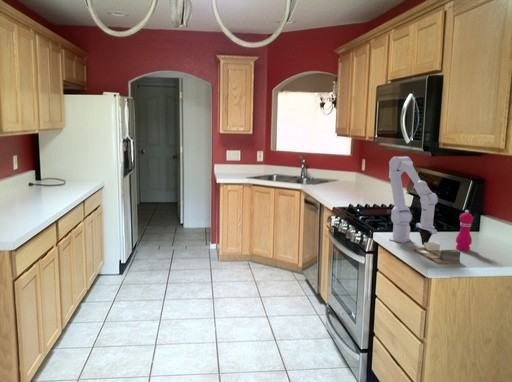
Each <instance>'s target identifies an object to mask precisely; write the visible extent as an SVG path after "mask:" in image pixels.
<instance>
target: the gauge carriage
mask: <svg viewBox="0 0 512 382" xmlns="http://www.w3.org/2000/svg"><path fill="white" fill-rule="evenodd" d="M423 247H424V248H419V250H424V249H426V250H428V251H434V250H440V251H441V244H440V243H437V242H435V241H430V242H427V243H424V245H423Z"/></svg>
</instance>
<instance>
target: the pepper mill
mask: <svg viewBox="0 0 512 382" xmlns="http://www.w3.org/2000/svg"><path fill="white" fill-rule="evenodd" d="M469 212H470V210H468V209H466V210H465V211H464V212H463V213H461V214H460V215H459V221H460V224H459V225H460V229H459V233H457V235H456V237H455V243H456V245H455V250H458V251H460V252H461V251H462V252H469V251H470V249H471V246H470V245H471V244H472V242H473V240H472V235H471V232H470V229H471V227H472V222H473V220H474V217H473V215H472V214H471V213H469Z"/></svg>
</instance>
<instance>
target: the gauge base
mask: <svg viewBox="0 0 512 382" xmlns="http://www.w3.org/2000/svg"><path fill="white" fill-rule="evenodd" d="M419 248H424V246H420V247H418V246H417V247H411V250H412V251H413V250H414V251H413V252H416V253H417V254H419V255H421V256H422V255H423V257H425V259H428V260H430V261H432V262H433V263H436V264H457V263H458V264H459V263H461V250H457V249H440V250H434V251H428V250H426V249H424V250H419Z"/></svg>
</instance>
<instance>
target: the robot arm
mask: <svg viewBox="0 0 512 382" xmlns="http://www.w3.org/2000/svg"><path fill="white" fill-rule="evenodd" d="M388 165H389V178H390V186H391V187H390V188H391V193H392V198H393V199H392V200H393V205H394V206H393V208H392V209H391V215H390V219H391V222H392V224H393V226H392V227H393V228H392V237H391V238H389V241H392V242H397V243H402V244H405V243H407V242H409V241H411V240H412V238H410V235H411V226H410V223H411V221H412V220H413V214H412V213H411V211H410V210H411V209H410V207H409V206H407V205H406V200H405V194H404V193H405V192H404V189H403V187H404V186H403V182H402V175H403V173H406V175H408V177H409V179H410V180H411V181H412V183H413V184H414V185H413V188H414V190H415V191H416V193H417V194H418V196H419V197H420V199H419V202H420V205H421V206H420V207H421V215H420V222H416V224H415V227H416V228H419V229H418V233H419V236H420V240H421V245H422V246H424V243H427V242H429V241H430V239H431V237H432V236H433V235H437V233H438V230H437V229H436V228H435V225H434V217H435V216H434V215H435V208H436V207H435V206H436V205H437V203H438V202H439V197H438V195H437V194H436V193H435V192H432V190H431V189H430V188H429V186H428V183H427V182H426V181H425V180H421V178H420V177H419V175H418V172H417V171H416V169H415V167H414V162H413V160H412V159H411V157H409V156H392V157H391V159H390V160H389V162H388Z"/></svg>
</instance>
